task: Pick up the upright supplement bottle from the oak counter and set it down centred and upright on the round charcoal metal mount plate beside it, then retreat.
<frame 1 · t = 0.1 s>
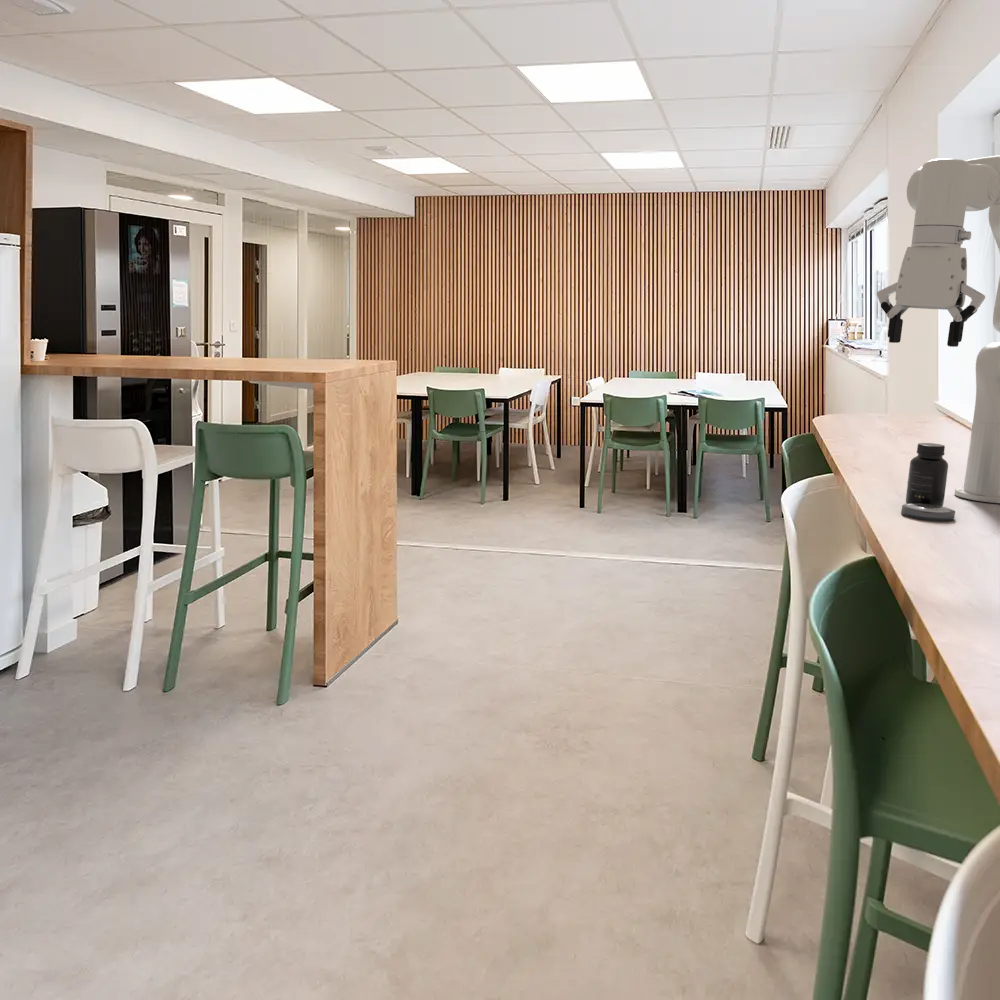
hand: (922, 344, 169), 31 cm above the table, tool pointing down, fingers open, 9 cm apart
supplement bottle: (923, 506, 196), on the table
mount plate: (927, 516, 186), on the table
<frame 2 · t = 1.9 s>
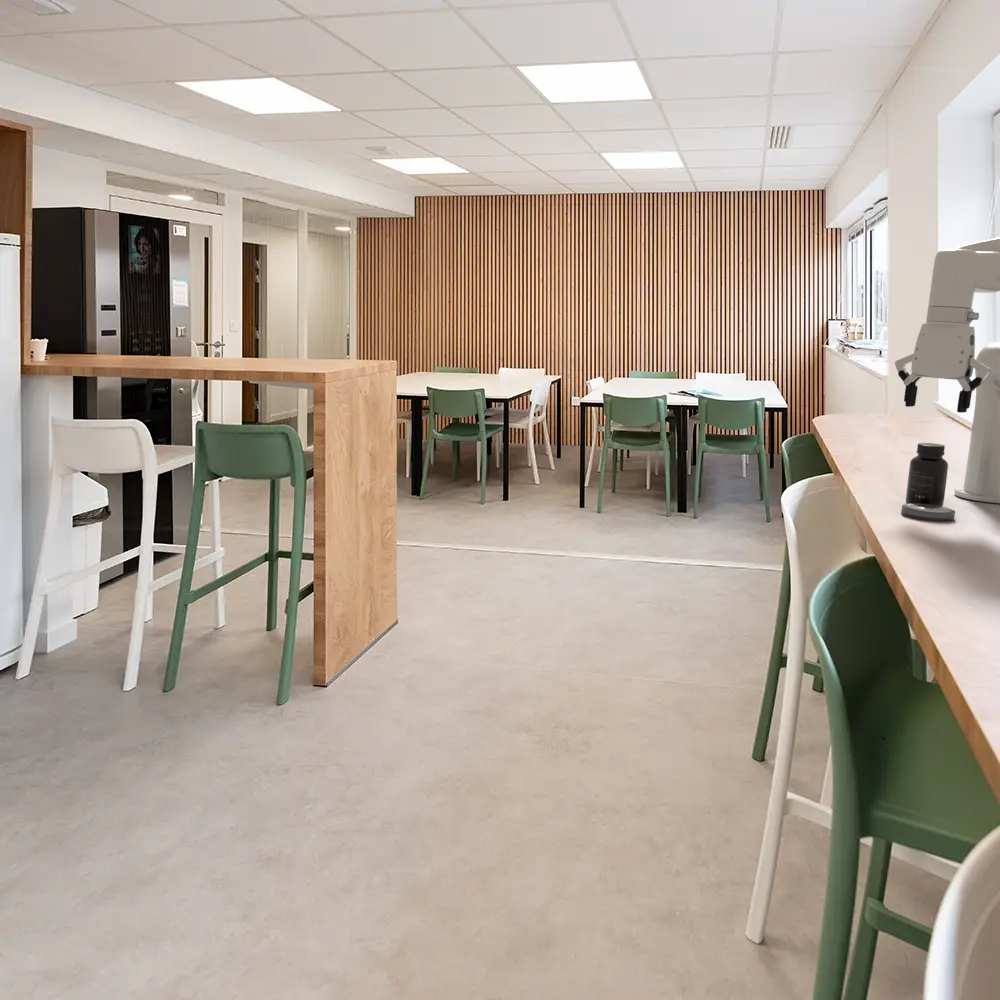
hand: (935, 409, 192), 19 cm above the table, tool pointing down, fingers open, 9 cm apart
nothing on the table moved.
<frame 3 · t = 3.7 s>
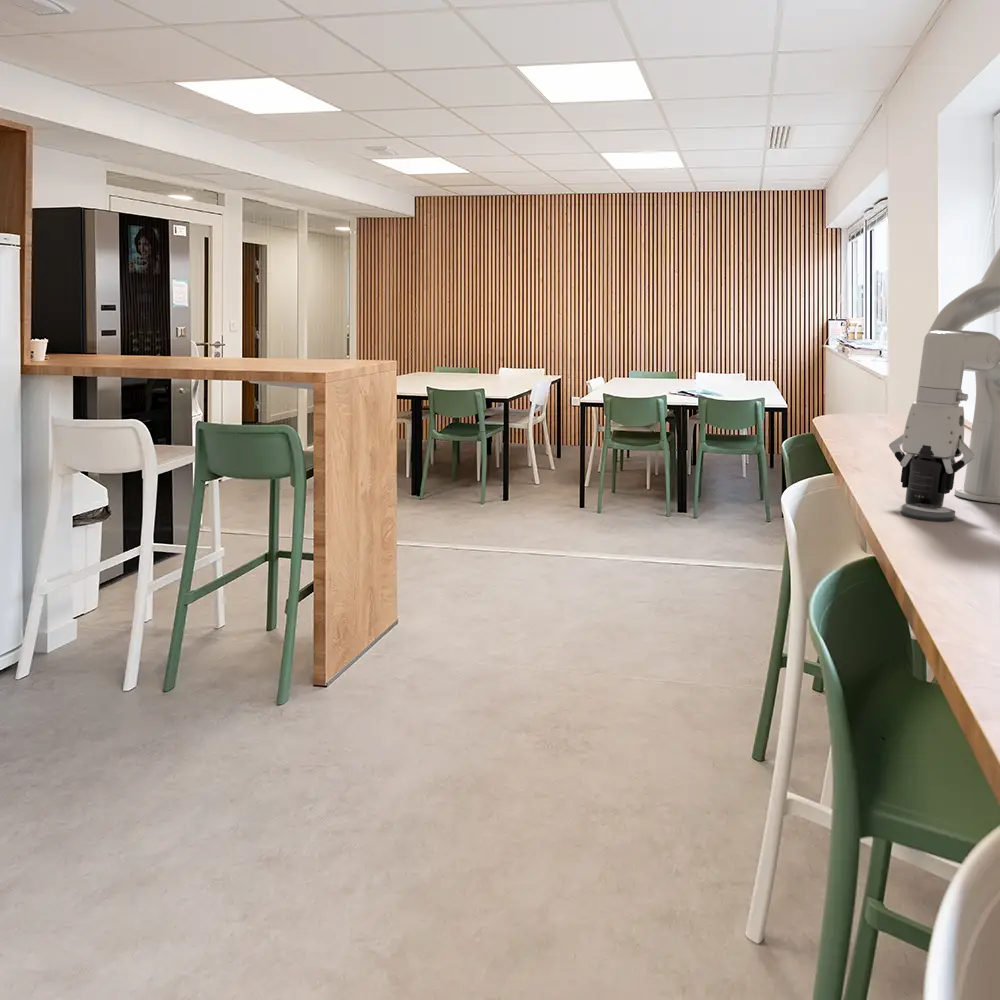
hand: (925, 489, 195), 3 cm above the table, tool pointing down, fingers closed on supplement bottle, 6 cm apart
supplement bottle: (923, 506, 196), on the table, touching gripper
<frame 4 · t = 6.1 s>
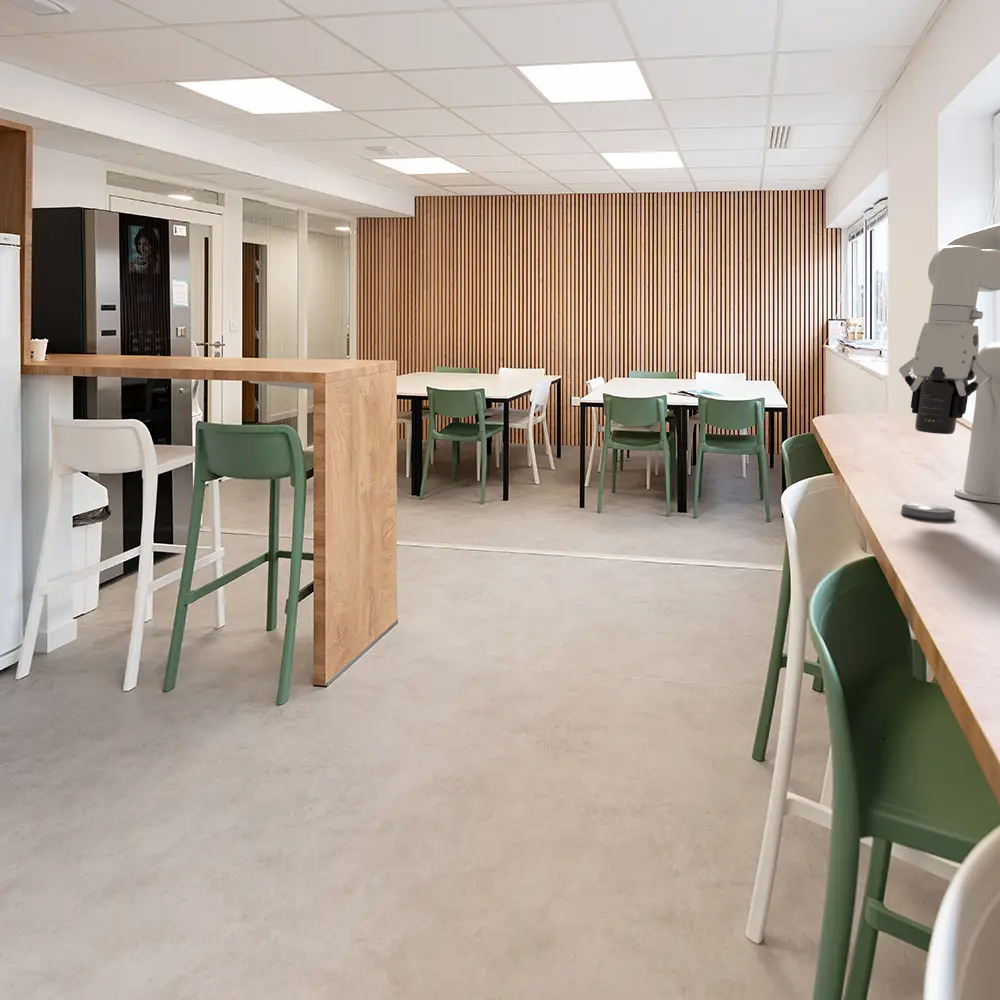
hand: (936, 414, 186), 18 cm above the table, tool pointing down, fingers closed on supplement bottle, 6 cm apart
supplement bottle: (933, 433, 187), point 15 cm above the table, touching gripper
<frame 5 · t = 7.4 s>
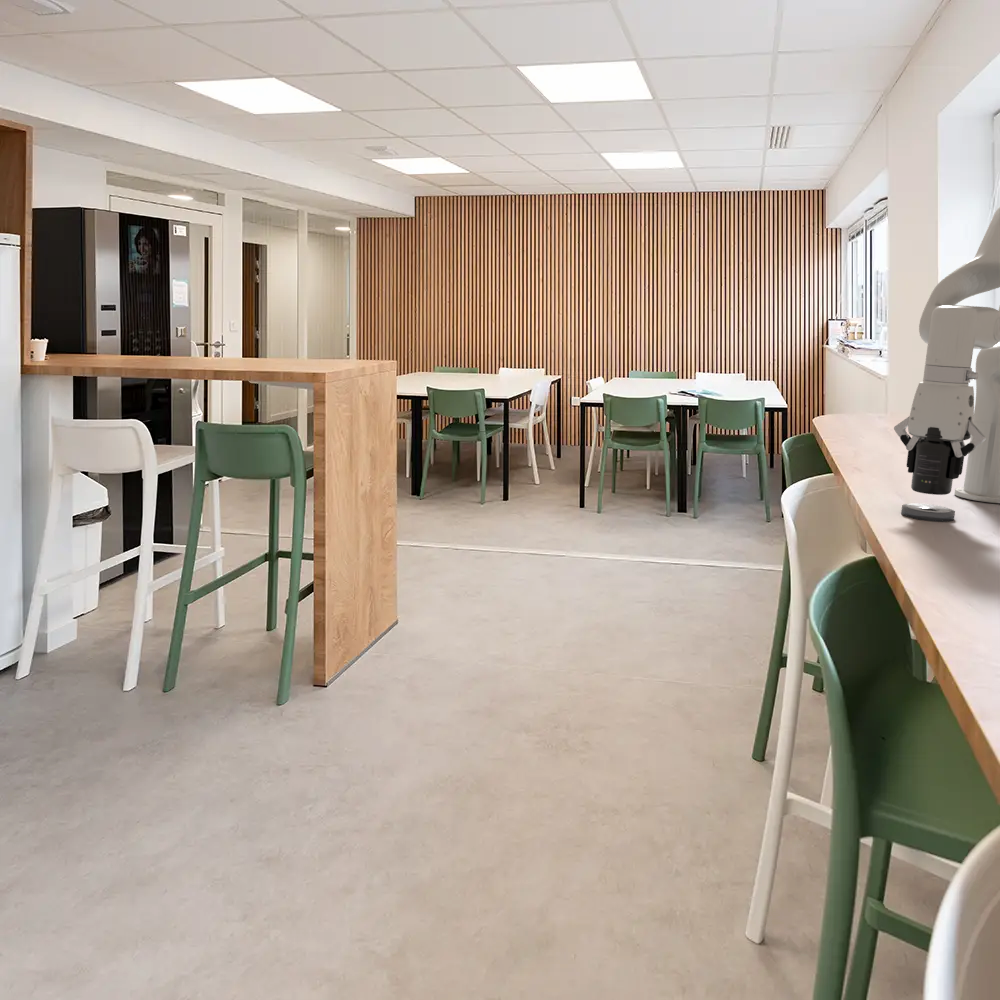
hand: (933, 474, 184), 8 cm above the table, tool pointing down, fingers closed on supplement bottle, 6 cm apart
supplement bottle: (930, 492, 185), point 4 cm above the table, touching gripper
when the fingers open (5 cm above the table, at t = 8.4 s): supplement bottle stays where it is, resting on mount plate.
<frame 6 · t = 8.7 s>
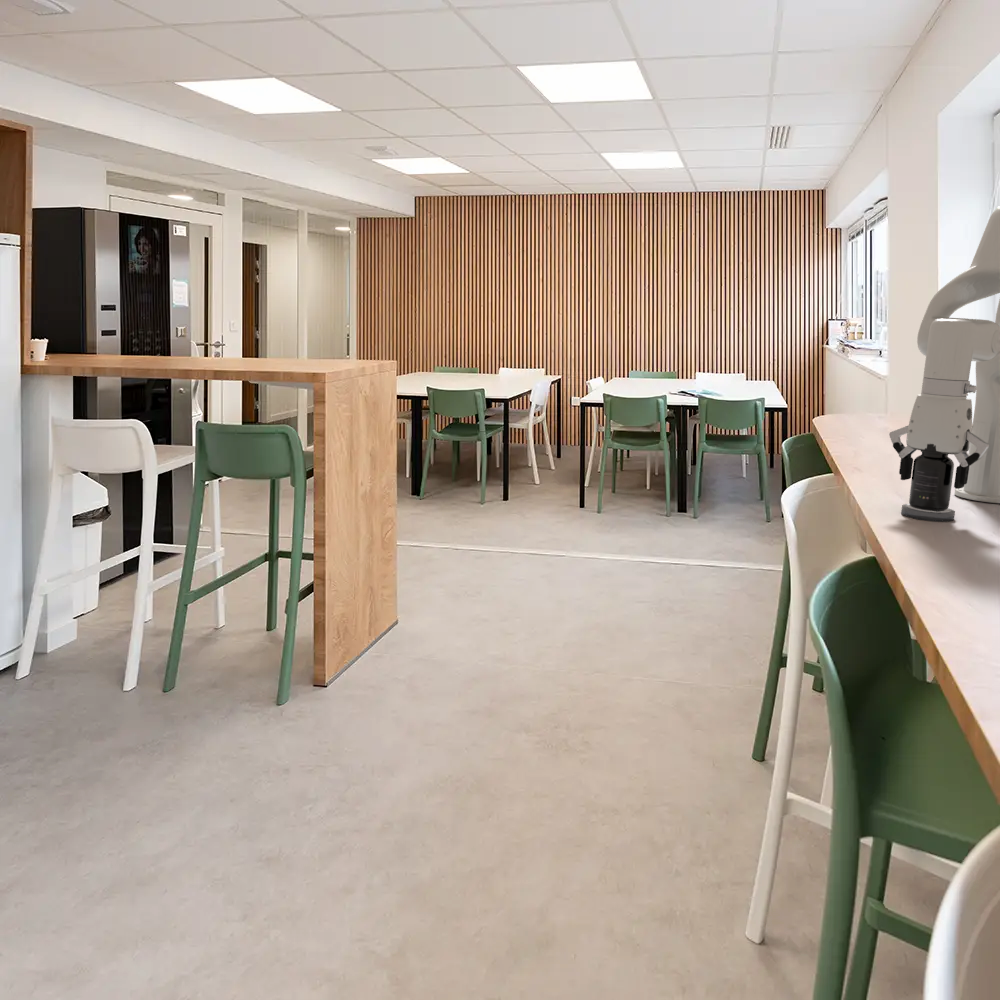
hand: (931, 483, 185), 6 cm above the table, tool pointing down, fingers open, 9 cm apart
supplement bottle: (927, 508, 186), point 1 cm above the table, touching mount plate
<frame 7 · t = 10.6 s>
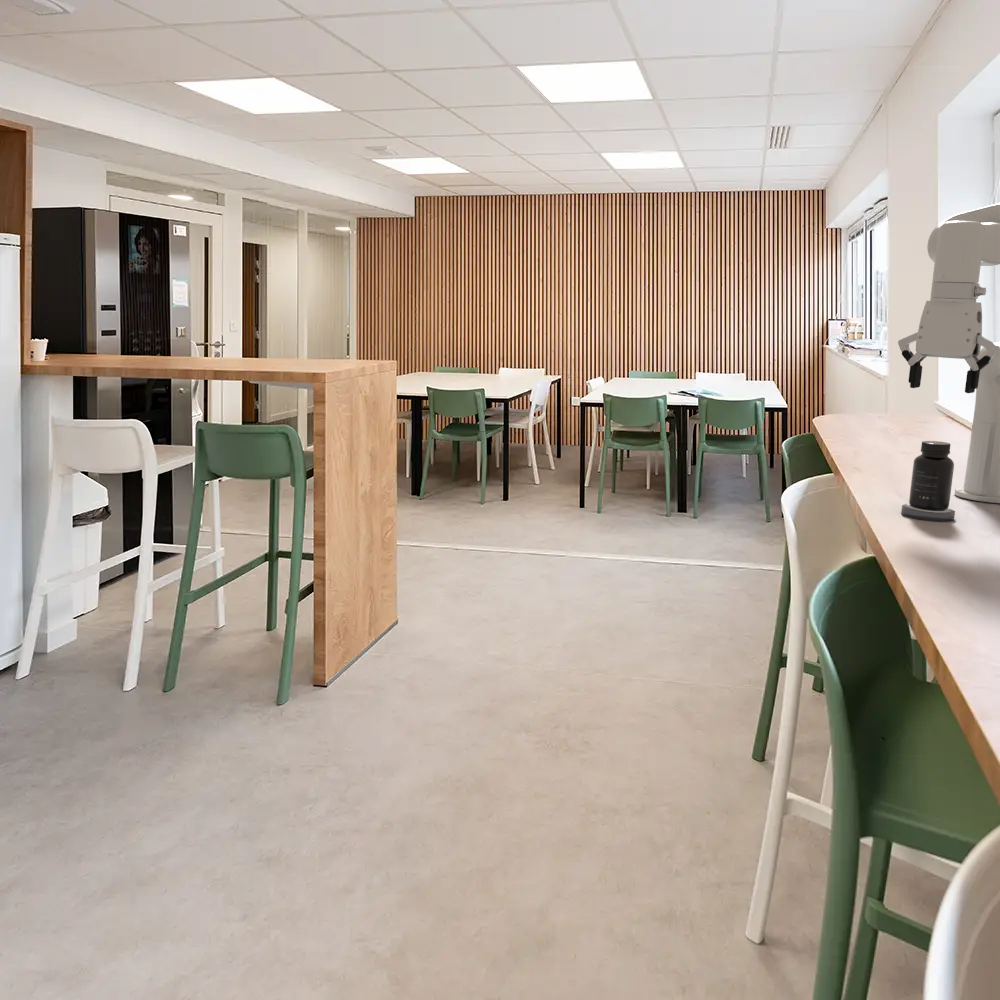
hand: (941, 390, 183), 23 cm above the table, tool pointing down, fingers open, 9 cm apart
nothing on the table moved.
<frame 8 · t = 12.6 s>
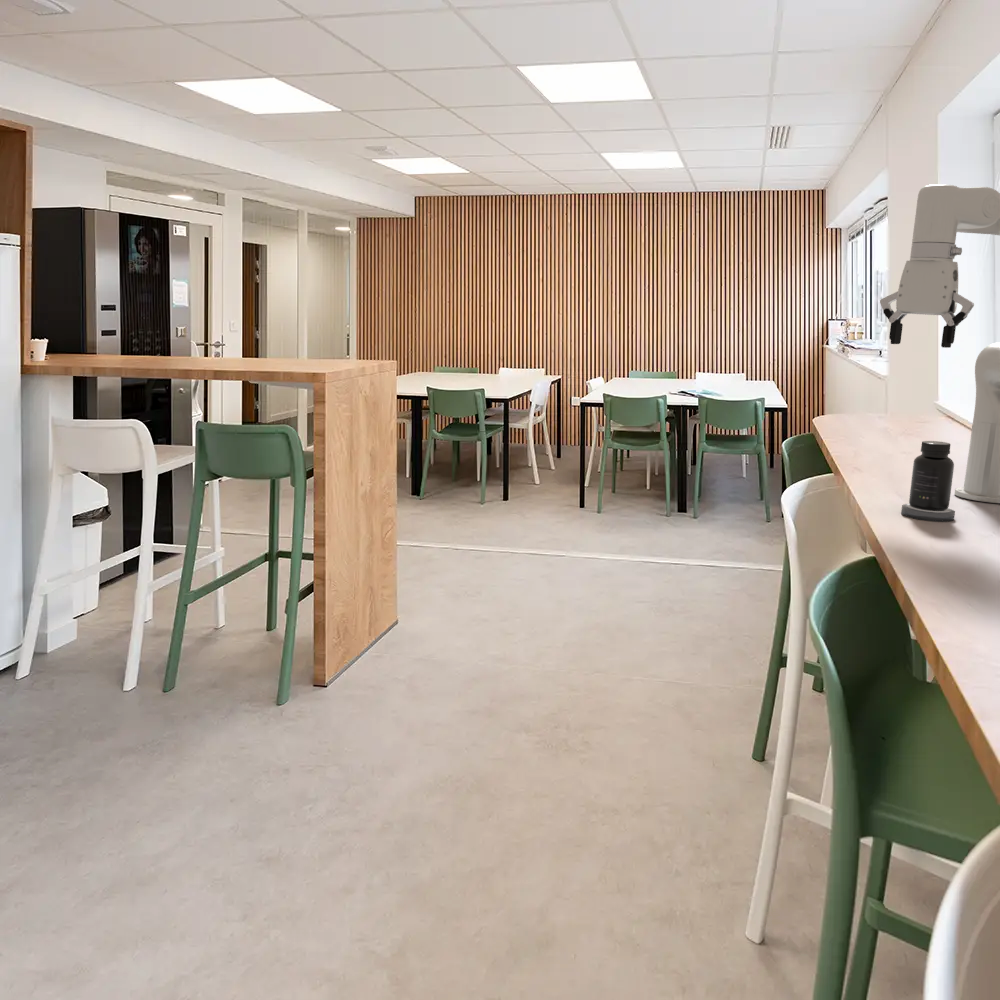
hand: (920, 345, 194), 30 cm above the table, tool pointing down, fingers open, 9 cm apart
nothing on the table moved.
at the end: supplement bottle 0.2 cm off-centre on the mount plate, point 1.4 cm above the mount plate's base; supplement bottle tilted 0°; the gripper is holding nothing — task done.
